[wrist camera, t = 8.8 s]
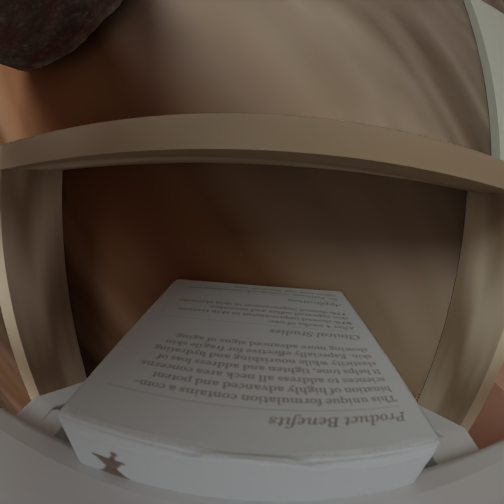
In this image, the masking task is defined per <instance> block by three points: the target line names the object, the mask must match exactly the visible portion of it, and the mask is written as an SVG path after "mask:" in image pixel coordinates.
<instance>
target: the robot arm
mask: <svg viewBox="0 0 504 504" xmlns="http://www.w3.org/2000/svg"><path fill="white" fill-rule="evenodd" d="M82 383H83V382H81V383H78V384H75V385H72V386H69V387H66V388H63V389H60V390H57V391H54V392H51V393H48V394H45V395H41V396H38V397H35V398H33V399H32V400H31V401H30V402H29V403H28V404H27V405H26V406H25V407H24V408H23V409H22V410H21V411H20V413H19V414H18V415H17V416H14V415H13V414H11V413H9V412H8V411H6V410H4V409H3V408H1V407H0V504H504V439H503V440H501V441H498V442H496V443H494V444H492V445H489V446H487V447H485V448H482V449H480V450H479V448H478V447H477V445H476V444H475V442H474V441H473V439H472V438H471V436H470V435H469V433H468V432H467V430H466V429H465V428H464V427H462V426H460V425H458V424H456V423H454V422H452V421H450V420H448V419H446V418H444V417H442V416H440V415H438V414H436V413H434V412H432V411H430V410H428V409H426V408H424V407H422V406H420V405H419V406H420V407H421V409H422V410H423V412H424V414H425V415H426V417H427V418H428V420H429V421H430V423H431V425H432V426H433V428H434V430H435V431H436V433H437V434H438V436H439V438H440V443H439V446H438V447H437V449H436V451H435V452H434V454H433V456H432V457H431V459H430V460H429V461H428V463H427V464H426V465H425V467H424V468H423V470H422V472H421V473H420V475H419V476H418V477H417V479H416V480H415V481H414V483H412V484H408V485H405V486H401V487H397V488H393V489H388V490H384V491H379V492H374V493H369V494H363V495H357V496H351V497H343V498H335V499H325V500H311V501H246V500H233V499H223V498H215V497H207V496H200V495H194V494H188V493H183V492H177V491H172V490H168V489H163V488H159V487H155V486H151V485H147V484H144V483H140V482H136V481H133V480H129V479H126V478H122V477H119V476H116V475H113V474H110V473H107V472H105V471H102V470H99V469H96V468H94V467H91V466H88V465H86V464H83V463H82V462H80V460H79V458H78V457H77V455H76V453H75V451H74V449H73V447H72V445H71V443H70V441H69V439H68V436H67V434H66V432H65V430H64V428H63V426H62V424H61V422H60V419H59V412H60V409H61V408H62V407H63V406H64V404H65V403H66V402H67V401H68V399H69V398H70V397H71V396H72V395H73V394H74V392H75V391H76V390H77V389H78V388H79V387H80V386H81V384H82Z"/></svg>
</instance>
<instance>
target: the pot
mask: <svg viewBox="0 0 504 504" xmlns="http://www.w3.org/2000/svg"><path fill="white" fill-rule="evenodd" d="M468 433H469V435H470V436H471V438H472V439H473V441H474V442H475V444H476V445H477V447H478V448H479V450H480V449H482V448H485V447H487V446H489V445H492V444H494V443H496V442H498V441H501V440H503V439H504V362H503V364H502V367H501V369H500V371H499V374H498V376H497V378H496V380H495V383H494V385H493V387H492V389H491V391H490V393H489V395H488V397H487V399H486V401H485V403H484V405H483V407H482V408H481V410H480V412H479V414H478V416H477V418H476V419H475V421H474V423H473V425H472V426H471V428H470V430H469V431H468Z"/></svg>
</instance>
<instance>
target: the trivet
mask: <svg viewBox="0 0 504 504" xmlns="http://www.w3.org/2000/svg"><path fill="white" fill-rule="evenodd" d="M463 1H464V4H465V7H466V9H467V12H468V15H469V19H470V22H471V25H472V28H473V32H474V36H475V39H476V43H477V47H478V51H479V56H480V60H481V65H482V70H483V75H484V81H485V87H486V94H487V101H488V109H489V119H490V132H491V156H493V157H496V158H498V159H501V160H504V14H503V13H501V12H500V11H498V10H497V9H495V8H493V7H492V6H490V5H489V4H487V3H485V2H483V1H482V0H463Z"/></svg>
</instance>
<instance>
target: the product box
mask: <svg viewBox="0 0 504 504" xmlns="http://www.w3.org/2000/svg"><path fill="white" fill-rule="evenodd" d="M59 419H60V422H61V424H62V426H63V428H64V430H65V432H66V434H67V436H68V439H69V441H70V443H71V445H72V447H73V449H74V451H75V453H76V455H77V457H78V458H79V460H80V462H82V463H83V464H86V465H88V466H91V467H94V468H96V469H99V470H102V471H105V472H107V473H110V474H113V475H116V476H119V477H122V478H126V479H129V480H133V481H136V482H140V483H144V484H147V485H151V486H155V487H159V488H163V489H168V490H172V491H177V492H183V493H188V494H194V495H200V496H207V497H215V498H223V499H233V500H246V501H311V500H325V499H335V498H343V497H351V496H357V495H363V494H369V493H374V492H379V491H384V490H388V489H393V488H397V487H401V486H405V485H408V484H412V483H414V481H415V480H416V479H417V477H418V476H419V475H420V473H421V472H422V470H423V468H424V467H425V465H426V464H427V463H428V461H429V460H430V459H431V457H432V456H433V454H434V452H435V451H436V449H437V447H438V446H439V443H440V438H439V436H438V434H437V433H436V431H435V430H434V428H433V426H432V425H431V423H430V421H429V420H428V418H427V417H426V415H425V414H424V412H423V410H422V409H421V407H420V406H419V404H418V403H417V401H416V399H415V398H414V396H413V395H412V393H411V392H410V390H409V389H408V387H407V385H406V384H405V382H404V381H403V379H402V378H401V376H400V375H399V373H398V372H397V370H396V368H395V367H394V365H393V364H392V363H391V361H390V360H389V358H388V357H387V355H386V354H385V352H384V351H383V349H382V348H381V346H380V345H379V343H378V342H377V340H376V339H375V338H374V336H373V335H372V333H371V332H370V331H369V329H368V328H367V326H366V324H365V323H364V322H363V321H362V319H361V318H360V317H359V315H358V314H357V312H356V311H355V309H354V308H353V307H352V305H351V304H350V303H349V301H348V300H347V299H346V297H345V296H344V294H343V293H342V292H341V291H328V290H314V289H300V288H286V287H272V286H259V285H246V284H233V283H220V282H208V281H194V280H183V279H177V280H176V281H174V282H173V283H172V284H171V285H170V286H169V288H168V289H167V290H166V291H165V292H164V293H163V294H162V295H161V296H160V297H159V299H158V300H157V301H156V302H155V303H154V304H153V305H152V306H151V307H150V308H149V309H148V310H147V312H146V313H145V314H144V315H143V316H142V317H141V318H140V319H139V320H138V321H137V323H136V324H135V325H134V326H133V327H132V328H131V329H130V330H129V331H128V332H127V334H126V335H125V336H124V337H123V338H122V339H121V340H120V341H119V342H118V344H117V345H116V346H115V347H114V348H113V349H112V350H111V351H110V353H109V354H108V355H107V356H106V357H105V358H104V359H103V361H102V362H101V363H100V364H99V365H98V366H97V367H96V368H95V370H94V371H93V372H92V373H91V374H90V376H89V377H88V378H87V379H86V380H85V381H84V382H83V383H82V384H81V386H80V387H79V388H78V389H77V390H76V391H75V392H74V394H73V395H72V396H71V397H70V398H69V399H68V401H67V402H66V403H65V404H64V406H63V407H62V408H61V409H60V412H59Z"/></svg>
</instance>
